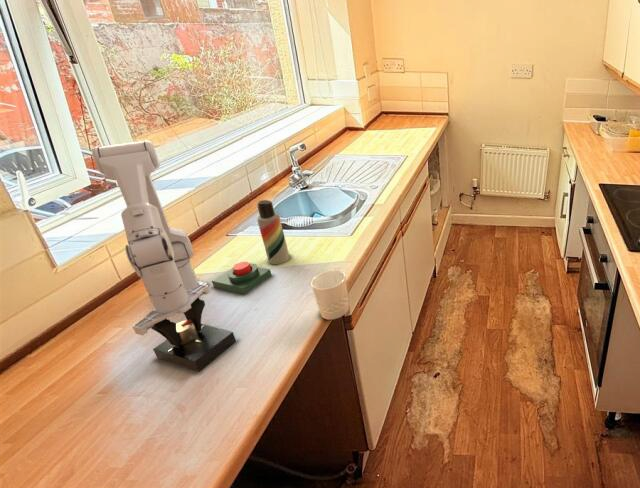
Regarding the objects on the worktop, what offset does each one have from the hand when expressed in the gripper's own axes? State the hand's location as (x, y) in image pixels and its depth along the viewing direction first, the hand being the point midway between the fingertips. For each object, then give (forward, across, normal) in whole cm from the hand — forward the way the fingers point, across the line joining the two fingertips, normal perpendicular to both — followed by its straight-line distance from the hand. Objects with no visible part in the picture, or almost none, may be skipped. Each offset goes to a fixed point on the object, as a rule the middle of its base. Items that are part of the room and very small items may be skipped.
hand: (186, 337), depth 90 cm
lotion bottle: (+3, +35, +9) cm, 36 cm away
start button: (0, +23, +9) cm, 25 cm away
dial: (0, 0, 0) cm, 0 cm away
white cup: (+4, +20, -23) cm, 31 cm away
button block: (+3, +23, +10) cm, 25 cm away
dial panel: (+3, 0, -2) cm, 4 cm away
